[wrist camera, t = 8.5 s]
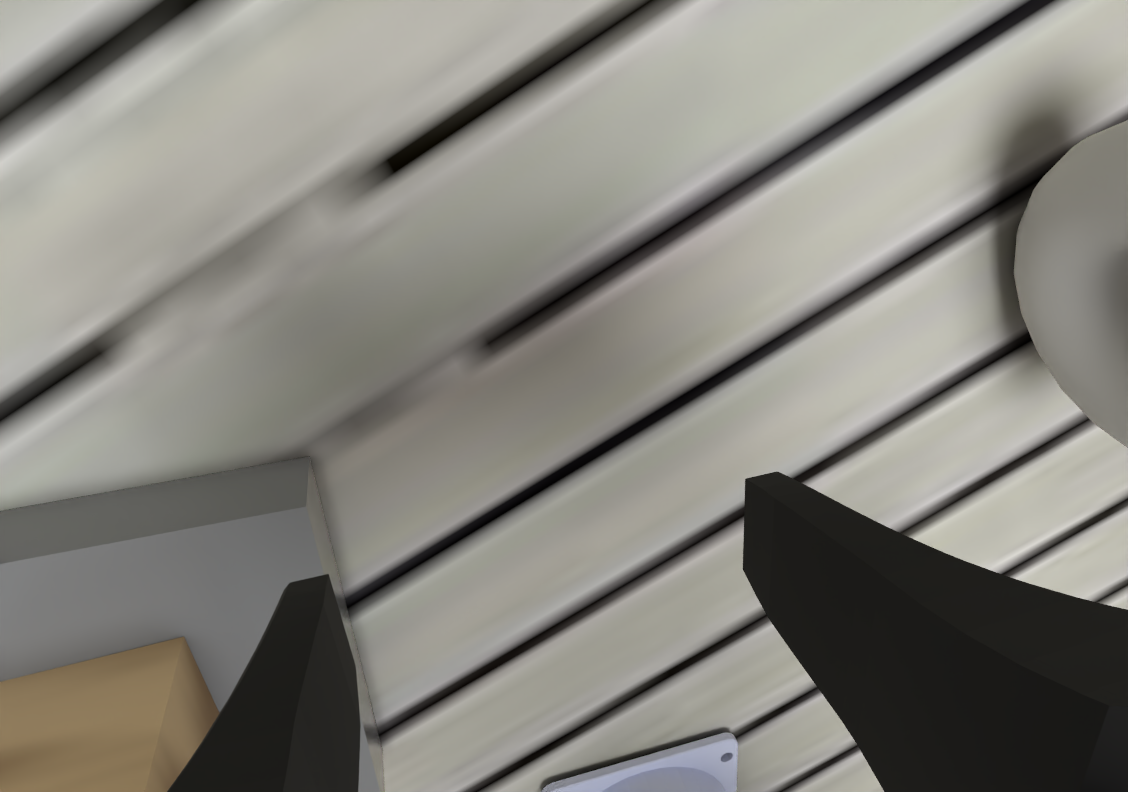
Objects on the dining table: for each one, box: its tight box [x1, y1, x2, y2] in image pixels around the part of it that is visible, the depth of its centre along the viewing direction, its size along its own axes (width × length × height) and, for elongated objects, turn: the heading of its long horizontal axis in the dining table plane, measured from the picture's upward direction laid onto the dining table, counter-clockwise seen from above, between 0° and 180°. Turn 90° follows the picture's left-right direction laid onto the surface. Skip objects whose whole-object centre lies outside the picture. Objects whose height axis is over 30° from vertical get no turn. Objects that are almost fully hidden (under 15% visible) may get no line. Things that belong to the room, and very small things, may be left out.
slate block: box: [0, 456, 385, 792], centre depth 22 cm, size 12×12×3 cm
